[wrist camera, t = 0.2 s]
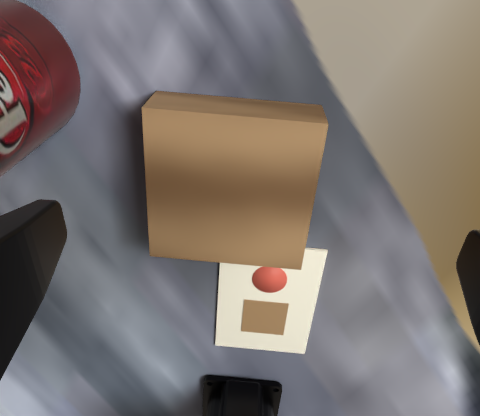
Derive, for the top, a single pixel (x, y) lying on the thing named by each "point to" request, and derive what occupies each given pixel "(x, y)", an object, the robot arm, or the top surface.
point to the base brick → (231, 177)
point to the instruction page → (268, 304)
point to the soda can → (32, 82)
